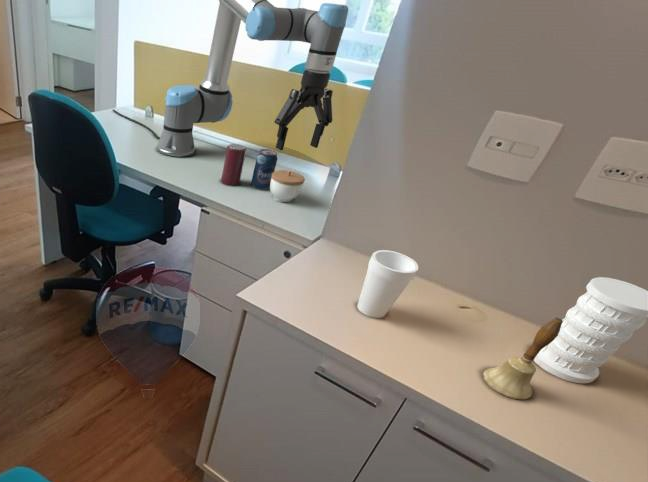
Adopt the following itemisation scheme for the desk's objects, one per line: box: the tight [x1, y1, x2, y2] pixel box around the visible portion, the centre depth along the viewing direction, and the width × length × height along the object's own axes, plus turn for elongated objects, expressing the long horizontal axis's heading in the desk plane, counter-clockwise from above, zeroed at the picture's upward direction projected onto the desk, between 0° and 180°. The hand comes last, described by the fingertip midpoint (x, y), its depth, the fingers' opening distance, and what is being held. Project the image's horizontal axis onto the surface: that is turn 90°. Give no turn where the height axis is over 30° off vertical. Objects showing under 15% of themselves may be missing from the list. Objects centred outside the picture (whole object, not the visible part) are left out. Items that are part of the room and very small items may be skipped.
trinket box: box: [269, 169, 306, 203], centre depth 148 cm, size 11×11×9 cm
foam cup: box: [356, 249, 419, 319], centre depth 99 cm, size 10×9×13 cm
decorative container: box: [533, 276, 648, 384], centre depth 87 cm, size 12×12×18 cm
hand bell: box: [482, 317, 563, 400], centre depth 82 cm, size 8×8×16 cm
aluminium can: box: [220, 143, 247, 187], centre depth 155 cm, size 7×7×12 cm
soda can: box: [250, 148, 278, 191], centre depth 154 cm, size 7×7×12 cm
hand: (296, 147), depth 140 cm, fingers open, 13 cm apart
